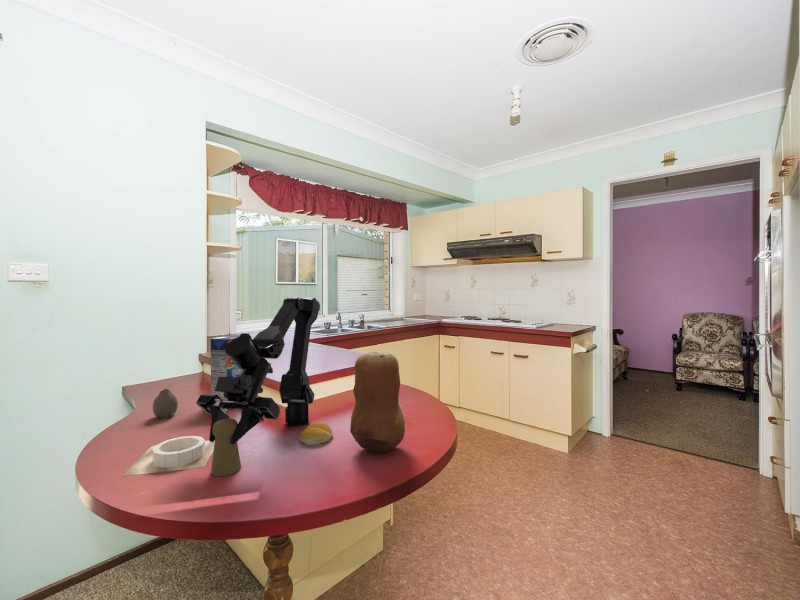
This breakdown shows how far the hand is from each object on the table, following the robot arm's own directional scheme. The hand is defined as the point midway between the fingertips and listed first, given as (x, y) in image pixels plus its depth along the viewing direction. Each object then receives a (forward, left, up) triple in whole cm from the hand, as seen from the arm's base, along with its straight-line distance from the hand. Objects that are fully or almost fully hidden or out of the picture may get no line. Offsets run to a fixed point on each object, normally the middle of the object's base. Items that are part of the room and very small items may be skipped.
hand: (221, 442), depth 79 cm
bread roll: (-21, -16, -8) cm, 28 cm away
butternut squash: (-36, -5, -8) cm, 37 cm away
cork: (-1, -1, -7) cm, 7 cm away
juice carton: (+8, -60, -8) cm, 61 cm away
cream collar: (+11, -11, -7) cm, 17 cm away
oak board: (+12, -12, -8) cm, 19 cm away
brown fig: (+26, -48, -8) cm, 55 cm away
